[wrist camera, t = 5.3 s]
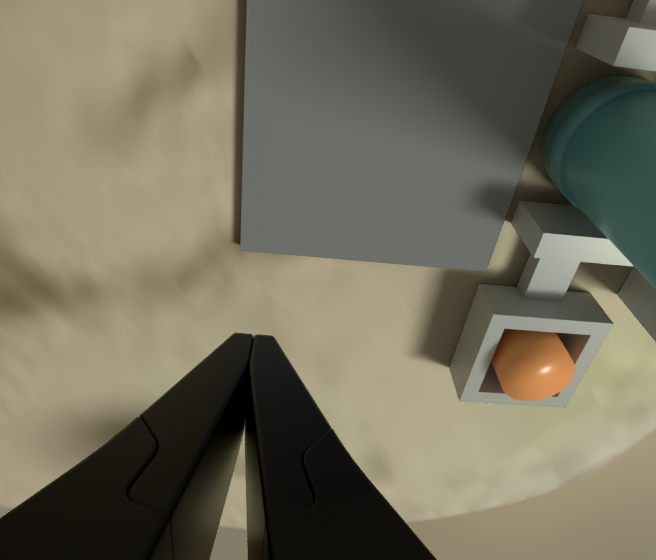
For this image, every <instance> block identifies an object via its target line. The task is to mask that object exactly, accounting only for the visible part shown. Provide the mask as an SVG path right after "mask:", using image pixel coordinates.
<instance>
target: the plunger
mask: <svg viewBox="0 0 656 560" xmlns="http://www.w3.org/2000/svg"><path fill="white" fill-rule="evenodd" d="M491 362H492V365H493V367H494V370H495V372H496V375H497V377H498V379H499V382H500V384H501V387H502V389H503V391H504V392H505V393H506V394H507V395H508V396H509V397H511V398H513V399H516V400H520V401H538V400H542V399H545V398H548V397H551V396H553V395H555V394H557V393H558V392H560V391H561V390H563V389H564V388H565V387H566V386H567V385H568V384H569V383H570V381H571V380H572V378H573V376H574V373H575V365H574V362H573V360H572V358H571V357H570V355H569V353H568V352H567V350H566V348H565V347H564V345H563V343H562V342H561V340H560V338H559V337H558V335H557V333H556V332H542V331H529V330H516V329H504V331H503V333H502V336H501V338H500V341H499V343H498V345H497V348H496V350H495V353H494V355H493V357H492V360H491Z"/></svg>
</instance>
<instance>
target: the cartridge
mask: <svg viewBox="0 0 656 560" xmlns="http://www.w3.org/2000/svg"><path fill="white" fill-rule="evenodd" d="M541 158H542V163H543V166H544V168H545V170H546V172H547V174H548V175H549V176H550V178H551V180H552V182H553V184H554V185H555V186H556V187H557V189H558V190H559V191H560V192H561V193H562V194H563V195H564V196H565V197H566V198H567V199H568V200H569V202H570V203H572V204H573V205H574V206H576V207H577V208H579V209H581V210H582V212H583V213H584V214H585V215H586V216H587V217H588V218H589V219H590V220H591V221H592V222H593V223H594V224H595V225H596V226H597V227H598V228H599V230H600V231H601V232H602V233H603V234H604V235H605V236H606V237H607V238H608V239H609V240H610V241H611V242H612V243H613V244H614V245H615V247H616V248H617V249H618V250H619V251H620V252H621V253H622V254H623V255H624V256H625V257H626V258H627V259H628V260H629V261H630V262H631V264H632V265H633V266H634V267H635V268H636V269H637V270H638V271H639V272H640V273H641V274H642V275H643V276H644V277H645V278H646V279H647V281H648V282H649V283H650V284H651V285H652V286H653V287H654V288H655V289H656V84H655V83H653V82H651V81H648V80H644V79H638V78H635V77H631V76H623V75H620V76H609V77H604V78H601V79H598V80H595V81H593V82H590V83H588V84H586V85H584V86H583V87H581V88H579V89H578V90H577V91H575V92H574V93H572V94H571V95H570V96H569V97H568V98H567V99H565V101H564V102H563V103H562V104H561V105H560V106H559V107H558V108H557V110H556V111H555V112H554V114H553V115H552V117H551V118H550V120H549V122H548V124H547V126H546V128H545V131H544V134H543V138H542V143H541Z"/></svg>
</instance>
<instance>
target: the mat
mask: <svg viewBox="0 0 656 560" xmlns="http://www.w3.org/2000/svg"><path fill="white" fill-rule="evenodd" d="M582 2H583V0H247V9H246V47H245V86H244V125H243V164H242V203H241V242H240V251H252V252H263V253H275V254H287V255H298V256H310V257H322V258H333V259H345V260H356V261H368V262H380V263H391V264H403V265H415V266H426V267H438V268H450V269H461V270H473V271H484V272H486V271H487V268H488V265H489V262H490V259H491V257H492V254H493V251H494V248H495V246H496V243H497V240H498V237H499V234H500V232H501V229H502V226H503V223H504V220H505V218H506V215H507V212H508V209H509V206H510V204H511V201H512V198H513V195H514V192H515V190H516V187H517V184H518V181H519V178H520V176H521V173H522V170H523V167H524V164H525V162H526V159H527V156H528V153H529V151H530V148H531V145H532V142H533V139H534V137H535V134H536V131H537V128H538V125H539V123H540V120H541V117H542V114H543V111H544V109H545V106H546V103H547V100H548V97H549V95H550V92H551V89H552V86H553V83H554V81H555V78H556V75H557V72H558V69H559V67H560V64H561V61H562V58H563V55H564V53H565V50H566V47H567V44H568V42H569V39H570V36H571V33H572V30H573V28H574V25H575V22H576V19H577V16H578V14H579V11H580V8H581V5H582Z"/></svg>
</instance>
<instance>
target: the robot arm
mask: <svg viewBox="0 0 656 560" xmlns="http://www.w3.org/2000/svg"><path fill="white" fill-rule="evenodd" d="M244 427H245V468H246V505H247V543H248V560H437V559H436V558H435V557H434V556H433V554H432V553H431V552H430V551H429V550H428V548H427V547H426V546H425V545H424V544H423V543H422V541H421V540H420V539H419V538H418V537H417V535H416V534H415V533H414V532H413V531H412V530H411V528H410V527H409V526H408V525H407V524H406V522H405V521H404V520H403V519H402V518H401V517H400V515H399V514H398V513H397V512H396V511H395V510H394V508H393V507H392V506H391V505H390V504H389V502H388V501H387V500H386V499H385V498H384V497H383V495H382V494H381V493H380V492H379V491H378V489H377V488H376V487H375V486H374V485H373V484H372V482H371V481H370V480H369V479H368V478H367V476H366V475H365V474H364V473H363V471H362V470H361V469H360V468H359V466H358V465H357V464H356V463H355V461H354V460H353V459H352V457H351V456H350V454H349V453H348V452H347V450H346V449H345V447H344V446H343V444H342V443H341V441H340V440H339V438H338V437H337V435H336V433H335V432H334V430H333V429H331V426H330V425H329V423H328V422H327V420H326V418H325V417H324V415H323V414H322V412H321V411H320V409H319V407H318V406H317V404H316V403H315V401H314V399H313V398H312V396H311V395H310V393H309V392H308V390H307V388H306V387H305V385H304V384H303V382H302V380H301V379H300V377H299V376H298V374H297V373H296V371H295V369H294V368H293V366H292V365H291V363H290V361H289V360H288V358H287V357H286V355H285V354H284V352H283V350H282V349H281V347H280V346H279V344H278V342H277V341H276V339H275V338H274V337H273V336H269V335H255V336H254V338H253V335H252V334H244V333H234V334H233V335H231V336H230V337H229V338H228V339H227V340H226V341H225V342H223V343H222V344H221V345H220V346H219V347H218V348H217V349H215V350H214V351H213V352H212V353H211V354H210V355H209V356H207V357H206V358H205V359H204V360H203V361H202V362H201V363H199V364H198V365H197V366H196V367H195V368H194V369H193V370H191V371H190V372H189V373H188V374H187V375H186V376H184V377H183V378H182V379H181V380H180V381H179V382H178V383H176V384H175V385H174V386H173V387H172V388H171V389H170V390H168V391H167V392H166V393H165V394H164V395H163V396H162V397H160V398H159V399H158V400H157V401H156V402H155V403H154V404H152V405H151V406H150V407H149V408H148V409H147V410H146V411H144V412H143V413H142V414H141V415H140V417H137V418H135V419H134V420H133V421H132V422H131V423H130V424H129V425H127V426H126V427H125V428H124V429H123V430H121V431H120V432H119V433H118V434H117V435H115V436H114V437H113V438H112V439H111V440H109V441H108V442H107V443H106V444H104V445H103V446H102V447H100V448H99V449H98V450H96V451H95V452H94V453H92V454H91V455H89V456H88V457H87V458H85V459H84V460H83V461H81V462H80V463H79V464H77V465H76V466H74V467H73V468H71V469H70V470H69V471H67V472H66V473H64V474H63V475H61V476H60V477H59V478H57V479H56V480H54V481H53V482H51V483H50V484H49V485H47V486H46V487H44V488H43V489H41V490H40V491H39V492H37V493H36V494H34V495H33V496H31V497H30V498H28V499H27V500H26V501H24V502H23V503H21V504H20V505H18V506H17V507H16V508H14V509H13V510H11V511H10V512H8V513H7V514H6V515H4V516H3V517H1V518H0V560H210V556H211V552H212V548H213V544H214V541H215V537H216V534H217V530H218V526H219V523H220V519H221V515H222V512H223V508H224V504H225V500H226V497H227V493H228V489H229V486H230V482H231V478H232V475H233V471H234V467H235V464H236V460H237V456H238V452H239V449H240V445H241V441H242V437H243V433H244Z"/></svg>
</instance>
